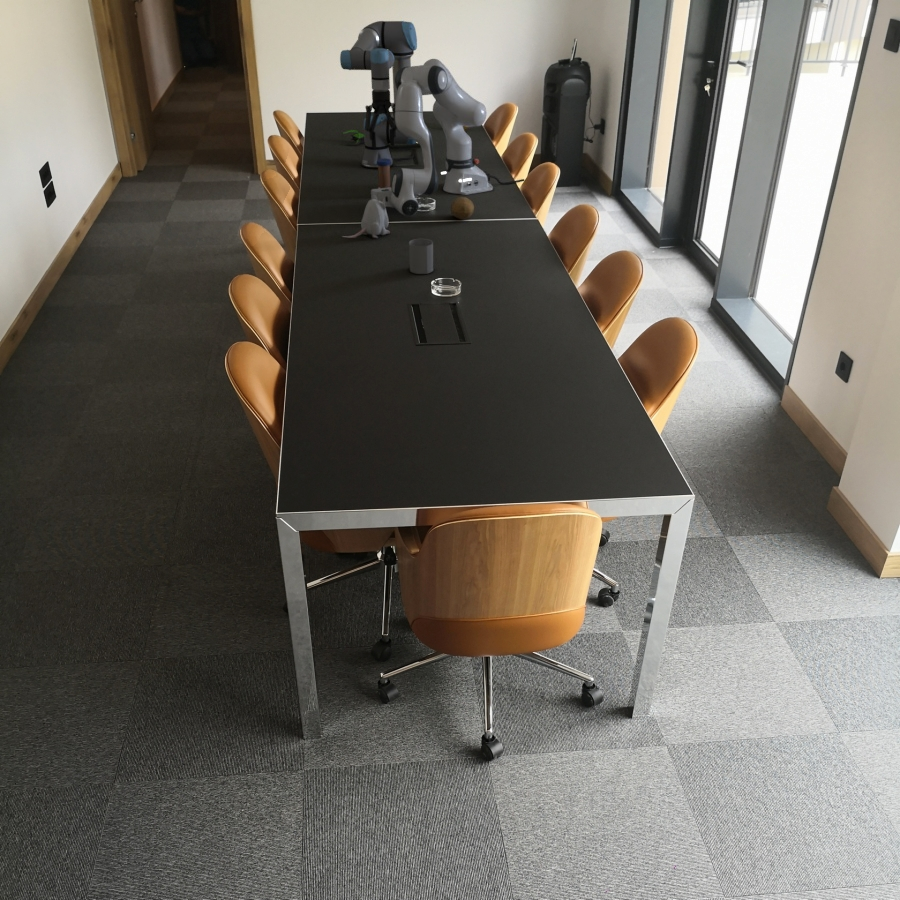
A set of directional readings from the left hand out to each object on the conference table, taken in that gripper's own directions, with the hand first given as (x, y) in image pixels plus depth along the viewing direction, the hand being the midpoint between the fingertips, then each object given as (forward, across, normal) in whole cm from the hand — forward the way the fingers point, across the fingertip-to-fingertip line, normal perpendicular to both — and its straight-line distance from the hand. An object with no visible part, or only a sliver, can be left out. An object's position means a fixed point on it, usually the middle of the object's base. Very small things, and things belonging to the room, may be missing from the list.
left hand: (383, 146), depth 372 cm
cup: (+22, +24, +88) cm, 94 cm away
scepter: (+22, -32, -94) cm, 101 cm away
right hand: (+15, +1, +9) cm, 18 cm away
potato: (+22, -16, +42) cm, 50 cm away
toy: (+22, +29, +48) cm, 60 cm away
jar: (+22, 0, 0) cm, 22 cm away
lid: (+6, 0, 0) cm, 6 cm away
